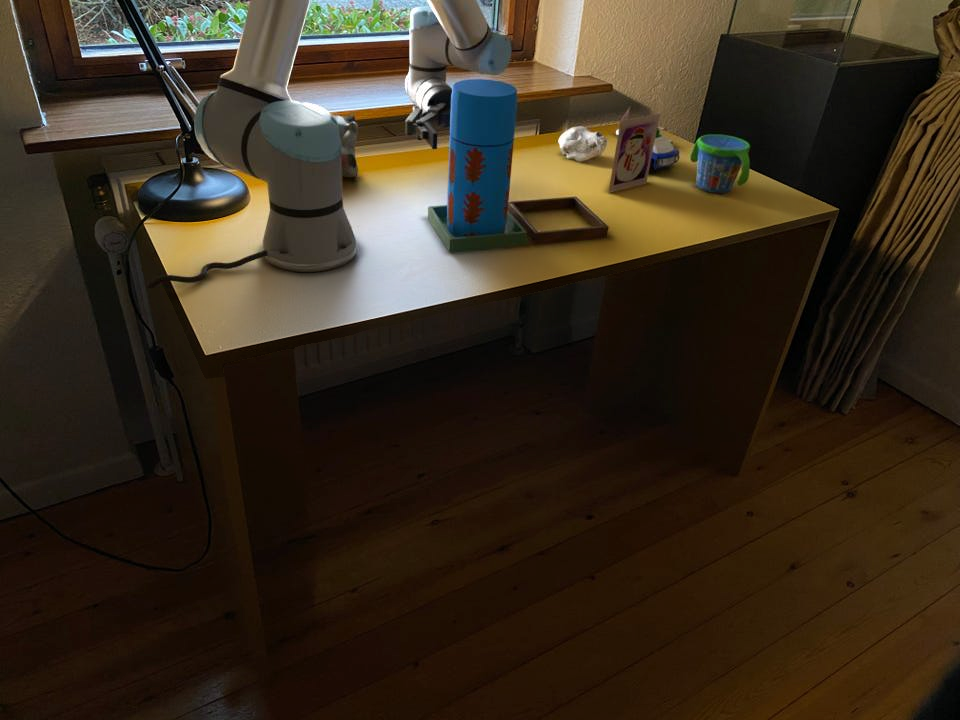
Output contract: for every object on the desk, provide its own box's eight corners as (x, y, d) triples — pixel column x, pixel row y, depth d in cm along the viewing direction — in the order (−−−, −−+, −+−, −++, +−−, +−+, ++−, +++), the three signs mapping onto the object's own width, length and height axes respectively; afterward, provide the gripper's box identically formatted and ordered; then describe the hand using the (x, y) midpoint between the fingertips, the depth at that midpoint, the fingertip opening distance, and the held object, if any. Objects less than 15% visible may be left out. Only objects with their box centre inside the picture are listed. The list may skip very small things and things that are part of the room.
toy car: (654, 177, 162) (663, 135, 157) (613, 161, 170) (620, 120, 164) (680, 170, 167) (689, 128, 162) (639, 154, 175) (646, 114, 169)
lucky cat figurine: (278, 174, 150) (285, 105, 149) (327, 185, 159) (333, 120, 158) (322, 174, 141) (330, 99, 139) (371, 185, 150) (378, 116, 148)
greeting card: (611, 194, 153) (623, 122, 144) (587, 182, 158) (597, 111, 149) (649, 184, 159) (663, 114, 150) (624, 173, 163) (636, 105, 155)
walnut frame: (534, 244, 131) (536, 233, 130) (507, 212, 142) (508, 201, 141) (607, 237, 135) (609, 226, 134) (574, 206, 146) (576, 196, 145)
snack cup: (672, 176, 164) (682, 131, 158) (712, 173, 167) (723, 128, 161) (713, 204, 152) (725, 156, 146) (755, 199, 155) (769, 152, 149)
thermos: (499, 245, 129) (511, 100, 114) (440, 237, 130) (444, 92, 116) (510, 221, 137) (522, 83, 123) (454, 213, 139) (460, 76, 125)
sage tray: (449, 252, 126) (449, 239, 125) (427, 218, 137) (428, 206, 136) (525, 245, 131) (527, 232, 129) (499, 213, 141) (500, 200, 140)
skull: (569, 135, 175) (604, 110, 165) (583, 170, 175) (618, 146, 165) (546, 138, 170) (581, 112, 161) (560, 174, 170) (596, 150, 160)
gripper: (498, 120, 150) (536, 156, 134) (377, 125, 143) (402, 164, 127) (501, 83, 146) (540, 115, 130) (377, 86, 139) (402, 120, 123)
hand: (472, 139), depth 128 cm, fingers open, 13 cm apart
